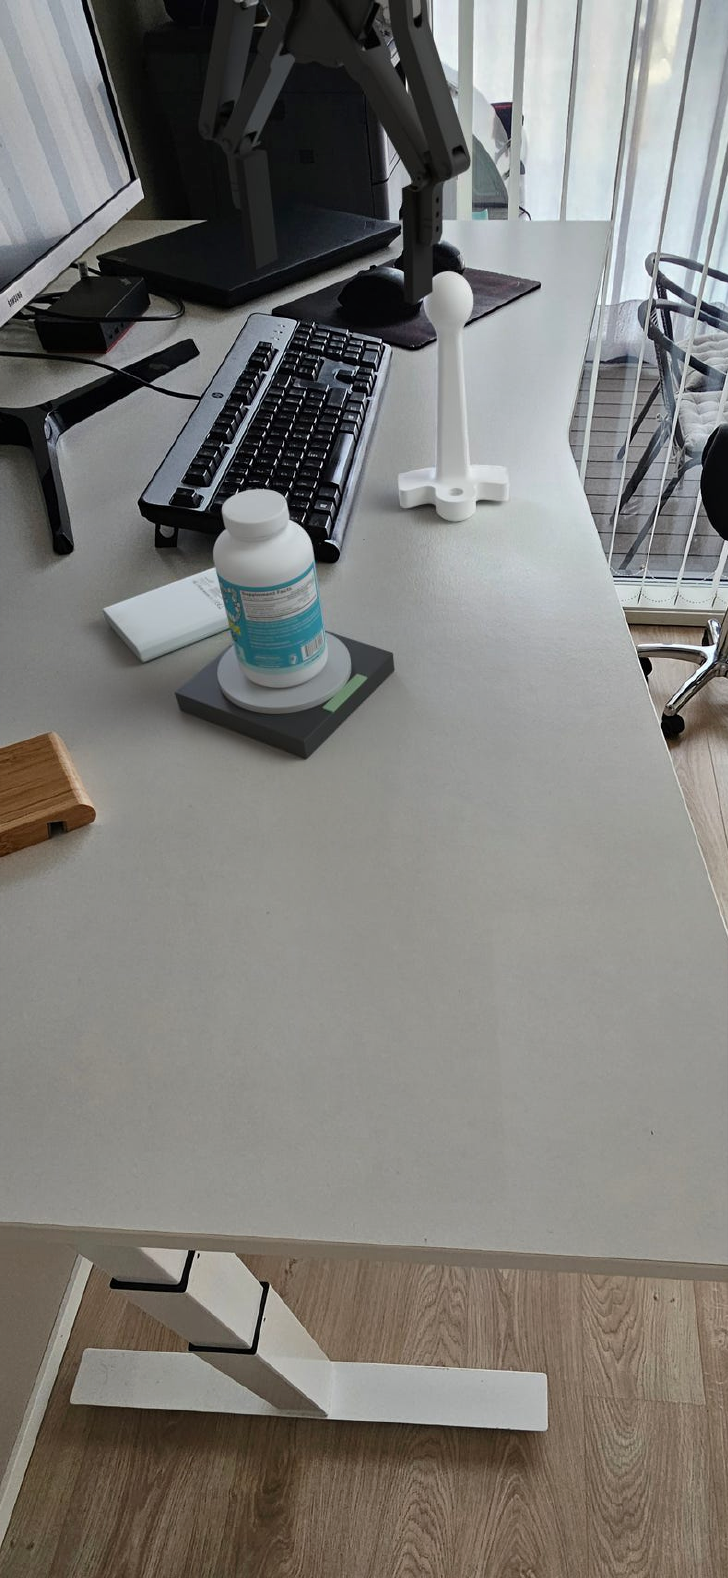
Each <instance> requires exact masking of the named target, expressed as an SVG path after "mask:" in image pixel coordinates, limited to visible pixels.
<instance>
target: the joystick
mask: <svg viewBox="0 0 728 1578" xmlns="http://www.w3.org/2000/svg"><path fill="white" fill-rule="evenodd" d="M473 308H474V295H473V290H472V288H471V285H470V283H469V282H468V281H467V279H466V278H465V277H464V276H462V275H461V274H459V273H458V272H455V271H453V270H452V271H451V270H447V271H442V272H439V273H437V274H436V275H433V292H432V293H430V294H429V295H427V296H425V297H424V298H423V309H424V313H425V315H426V318H427V320H428V321H429V322H430V323H431V325H432V326H433V328H434V330H435V333H436V376H435V377H436V380H435V381H436V384H435V385H436V386H435V388H436V389H435V450H434V451H435V453H434V454H435V456H434V466H432V467H426V468H425V467H424V468H420V469H414V470H409V471H405V472H402V473H398V475H397V479H398V480H397V481H398V493H399V494H398V496H399V505H400V507H401V508H403V509H410V508H414V507H417V506H421V505H426V504H431V505H434V506H435V512H436V514H437V515H438V516H439V517H441V519H443V520H445V521H448V522H462V521H465V520H467V519H469V518H470V517H471V516H472V515H474V514H475V512H476V510H477V505H476V504H477V503H476V502H477V501H480V500H486V501H495V502H507V501H508V500H509V499H510V478H509V474H508V470H507V467H506V466H503V465H491V464H471V462H470V461H471V460H470V447H469V445H470V444H469V432H468V430H469V429H468V414H467V413H468V412H467V400H466V383H465V367H464V353H463V352H464V351H463V331H464V327H465V325H466V323H467V322H468V320H469V319H470V317H471V315H472V313H473Z"/></svg>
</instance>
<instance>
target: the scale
mask: <svg viewBox="0 0 728 1578" xmlns="http://www.w3.org/2000/svg"><path fill="white" fill-rule="evenodd" d="M325 633H326V640H327V647H328V658H327V662H326V664H325V666H324V668H323V669H322V670H321V671H320V672H319V673H318V674H317V675H316V676H315V677H313V678H312V679H310V680H308V681H306V682H304V683H302V684H299V685H295V686H291V687H284V688H273V687H266V686H262V685H259V684H257V683H254V682H252V681H251V680H249V679H248V678H247V677H246V676H245V675H244V674H243V673H242V671H241V669H240V667H239V665H238V661H237V657H236V653H235V649H234V644H233V642H232V643H231V644H230V645H229V646H227V647H226V648H225V649H224V650H223V651H222V652H221V653H220V654H218V655H217V656H216V657H215V658H214V659H211V661H210V662H209V663H207V664H206V665H205V666H204V667H203V668H202V669H200V670H199V671H198V672H197V673H196V674H195V675H194V676H192V677H191V678H190V679H188V681H186V682H185V683H184V684H183V685H182V686H180V687H179V688H178V689H176V691H174V696H175V699H176V703H177V706H178V709H179V711H182V712H183V713H187V714H189V715H191V716H194V717H197V718H200V719H201V720H204V721H207V722H210V723H212V724H215V725H218V726H219V727H223V728H225V729H227V730H230V731H233V732H236V733H238V734H239V735H243V736H246V737H249V738H250V739H253V740H255V741H258V742H261V743H264V744H266V745H268V746H272V747H274V748H277V749H279V750H282V751H285V752H287V753H290V754H292V755H294V756H297V757H300V758H302V759H304V760H308V759H309V757H311V755H313V753H315V752H316V751H317V749H318V748H320V746H321V745H322V744H323V743H324V742H325V741H326V740H328V739H329V737H331V735H332V734H333V733H334V732H335V731H336V730H337V729H338V728H339V727H340V726H342V724H343V723H344V722H345V721H346V720H348V718H349V717H350V716H351V715H352V714H353V713H354V712H355V711H356V710H357V709H358V708H359V707H360V706H361V705H362V704H363V703H364V702H365V701H366V700H367V699H369V697H370V696H371V695H372V694H373V693H374V692H375V691H376V690H377V689H378V688H379V687H380V686H381V685H382V684H383V683H384V682H385V681H386V680H387V679H388V678H389V677H390V676H391V675H392V674H393V673H394V672H395V659H394V653H393V652H391V651H389V650H386V649H382V648H380V647H377V646H374V645H371V644H367V643H364V642H362V641H358V640H355V639H352V638H350V637H347V636H343V635H340V634H338V633H334V632H331V631H329V630H328V631H327V630H325Z"/></svg>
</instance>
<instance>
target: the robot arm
mask: <svg viewBox="0 0 728 1578" xmlns="http://www.w3.org/2000/svg"><path fill="white" fill-rule="evenodd" d="M259 1H260V0H218V1H217V2H218V6H217V7H218V8H217V13H216V18H215V23H214V24H215V25H214V29H213V36H212V42H211V48H210V53H209V60H208V66H207V72H206V77H205V83H204V89H203V95H202V100H201V101H202V102H201V107H200V113H199V119H198V131H199V134H200V136H201V137H202V138H203V139H204V140H206V141H210V140H211V141H213V142H214V143H216V144H218V145H219V146H220V147H221V149H222V151H223V152H224V153H225V155H226V159H227V167H228V173H229V181H230V189H231V196H232V202H233V204H234V207H235V209H236V210H240V212H241V220H242V228H243V235H244V236H243V237H244V242H245V243H244V244H245V252H246V259H247V267H248V269H252V270H259V269H261V268H263V267H265V266H267V265H269V264H271V263H272V262H275V261H276V260H278V259H279V258H278V257H279V255H278V247H277V238H276V229H275V221H274V220H275V219H274V210H273V202H272V201H273V199H272V191H271V181H270V172H269V163H268V154H267V153H268V152H267V150H262V149H255V150H253V148H255V147H257V146H259V145H260V144H261V142H262V141H261V140H259V137H260V135H261V133H262V131H263V128H264V126H265V124H266V122H267V120H268V118H269V116H270V113H271V111H272V109H273V107H274V105H275V104H276V103H275V102H276V100H277V98H278V96H279V94H280V92H281V90H282V88H283V86H284V84H285V81H286V79H287V78H288V76H289V73H290V72H291V69H292V67H293V65H294V63H297V64H304V65H306V64H309V63H313V62H317V63H318V64H320V65H322V66H323V67H326V68H333V69H337V68H341V67H343V66H344V68H345V70H346V72H347V73H348V76H349V77H350V78H351V79H352V80H354V81H355V82H357V83H358V84H359V87H360V88H361V90H362V91H363V94H364V95H365V97H366V99H367V101H368V102H369V104H370V106H371V108H372V110H373V112H374V113H375V115H376V118H377V119H378V121H379V123H380V124H381V127H382V128H383V130H384V132H385V134H386V135H387V138H388V139H389V141H390V143H391V145H392V147H393V149H394V150H395V152H396V154H397V156H398V158H399V159H400V161H401V163H402V165H403V167H404V168H405V170H406V172H407V174H408V176H409V178H410V179H411V181H412V182H411V183H409V184H407V185H406V186H403V187H402V188H401V211H402V213H401V216H402V218H401V220H402V221H401V223H402V259H403V261H402V262H403V265H402V267H403V301H404V303H406V304H407V303H408V304H412V305H414V304H416V303H417V302H419V301H420V300H422V299H424V297H425V296H427V295H429V294H430V293H432V292H433V277H434V275H433V274H434V273H433V268H434V267H433V263H434V262H433V250H434V249H433V246H434V245H435V244H436V243H439V242H440V241H441V239H442V236H443V231H444V229H443V225H444V224H443V221H444V220H443V219H444V217H443V216H444V215H443V214H444V213H443V209H444V207H443V206H444V205H443V203H444V197H443V196H444V185H445V183H446V182H447V181H449V180H452V179H454V178H455V177H457V176H460V175H461V174H463V173H465V172H467V171H468V170H469V169H470V166H471V162H472V160H471V155H470V151H469V149H468V145H467V142H466V139H465V135H464V133H463V128H462V126H461V122H460V119H459V116H458V113H457V109H456V107H455V106H456V105H455V102H454V100H453V96H452V93H451V90H450V87H449V84H448V83H449V82H448V80H447V77H446V74H445V71H444V67H443V63H442V61H441V57H440V54H439V51H438V48H437V45H436V41H435V38H434V34H433V32H432V31H433V30H432V28H431V26H430V22H429V11H428V0H261V1H262V3H263V5H264V6H265V8H266V11H267V13H268V15H269V18H268V20H267V22H266V25H265V27H264V29H263V31H262V34H261V35H260V38H259V41H258V43H257V45H256V51H257V55H256V57H255V60H254V61H253V64H252V66H251V69H250V71H249V73H248V76H247V78H246V80H245V82H244V77H245V72H246V66H247V61H248V56H249V52H250V46H251V41H252V36H253V30H254V25H255V21H256V16H257V15H256V13H257V5H258V3H259ZM381 8H382V9H383V10H382V17H383V19H384V20H385V21H387V22H388V23H389V25H390V28H391V33H392V39H393V42H394V45H395V49H396V53H397V55H398V58H399V61H400V64H401V68H402V70H403V73H404V76H405V77H404V78H405V79H406V82H407V86H408V88H409V92H410V94H409V92H408V90H407V88H406V87H405V85H404V83H403V81H402V79H401V77H400V76H399V74H398V71H397V69H396V67H395V66H394V64H393V62H392V59H391V58H392V52H391V48H390V47H389V45H388V43H387V42H386V40H385V37H384V36H383V34H382V32H381V30H380V28H379V26H378V24H377V23H376V19H377V17H378V14H379V12H380V10H381ZM363 49H364V50H363ZM243 82H244V85H243ZM242 86H243V87H242ZM258 140H259V141H258Z"/></svg>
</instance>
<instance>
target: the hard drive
mask: <svg viewBox="0 0 728 1578" xmlns="http://www.w3.org/2000/svg"><path fill="white" fill-rule="evenodd" d="M101 611H102V613H103V614H102V615H103V617H104V619H105V621H106V623H107V625H108V626H109V627H110V628H111V629H112V630H113V631H114V633H115V634H116V635H117V636H118V637H119V638H120V640H121V641H122V642H123V643H124V644H125V645H126V647H128V648H129V650H130V651H131V652H132V653H133V654H134V655H135V656H136V658H137V659H138V660H139V661H140V662H141V663H146V662H148V661H151V660H153V659H156V658H159V657H161V656H164V655H167V654H169V653H170V652H173V651H174V652H175V651H176V650H178V649H182V648H183V647H186V646H188V645H192V644H194V643H196V642H198V641H201V640H203V639H207V638H209V637H211V636H214V635H216V634H218V633H219V634H220V633H221V632H224V631H226V630H230V627H229V623H228V619H227V615H226V610H225V606H224V602H223V598H222V594H221V590H220V586H219V581H218V577H217V573H216V569H215V566H214V567H212V568H209V569H206V570H204V571H201V572H198V573H195V574H193V575H189V576H187V577H184V578H182V579H178V580H176V581H174V582H171V583H168V584H166V585H163V586H160V587H158V588H155V589H151V590H149V591H146V592H144V593H141V594H139V595H135V596H133V597H129V598H128V599H124V600H122V601H119V602H117V603H114V604H112V605H109V606H106V607H104V608H102V609H101Z"/></svg>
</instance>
